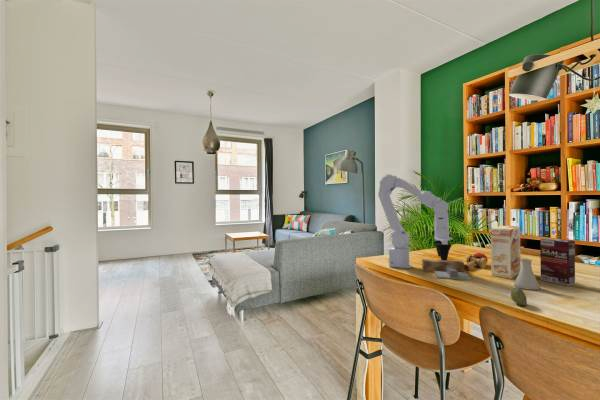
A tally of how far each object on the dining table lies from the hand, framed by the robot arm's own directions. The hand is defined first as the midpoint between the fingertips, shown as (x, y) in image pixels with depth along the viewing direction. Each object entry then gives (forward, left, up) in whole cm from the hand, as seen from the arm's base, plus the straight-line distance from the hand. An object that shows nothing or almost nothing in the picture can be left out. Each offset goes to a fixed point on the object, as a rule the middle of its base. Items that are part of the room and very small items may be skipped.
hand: (442, 258), depth 122 cm
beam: (0, 0, -6) cm, 6 cm away
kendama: (+15, +9, -6) cm, 18 cm away
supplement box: (+37, -9, -6) cm, 38 cm away
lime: (+15, -37, -6) cm, 40 cm away
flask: (+24, -18, -6) cm, 30 cm away
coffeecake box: (+24, 0, -6) cm, 25 cm away
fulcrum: (+2, -9, -5) cm, 11 cm away
